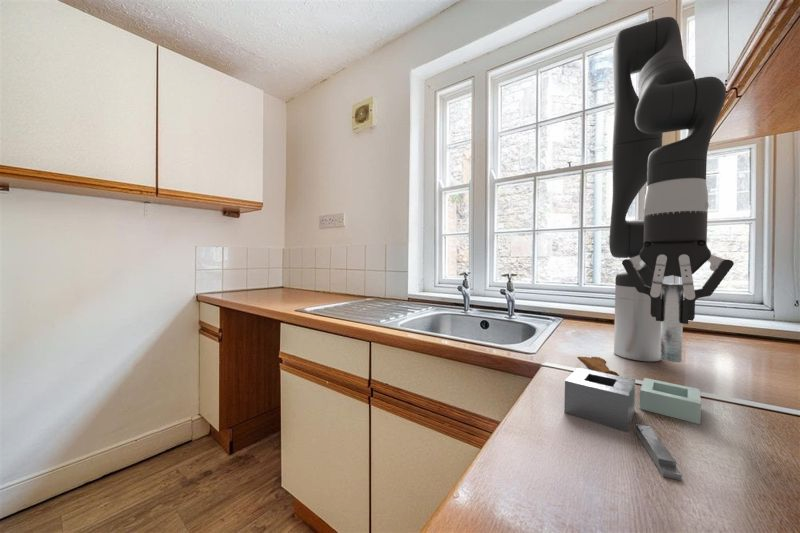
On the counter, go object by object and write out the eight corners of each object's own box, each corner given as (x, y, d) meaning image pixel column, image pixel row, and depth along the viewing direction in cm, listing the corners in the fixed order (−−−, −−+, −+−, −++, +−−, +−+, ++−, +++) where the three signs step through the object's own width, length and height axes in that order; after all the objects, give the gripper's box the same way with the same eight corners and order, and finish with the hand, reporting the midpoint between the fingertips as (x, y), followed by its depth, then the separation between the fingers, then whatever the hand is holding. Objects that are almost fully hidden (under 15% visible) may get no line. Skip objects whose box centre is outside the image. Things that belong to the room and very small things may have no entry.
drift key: (635, 432, 43) (636, 424, 43) (650, 435, 43) (650, 426, 43) (663, 476, 34) (663, 465, 34) (681, 480, 34) (681, 469, 34)
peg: (660, 355, 52) (662, 283, 52) (681, 359, 50) (683, 284, 50) (659, 359, 50) (661, 284, 50) (681, 363, 48) (683, 285, 48)
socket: (577, 395, 55) (578, 367, 55) (634, 411, 49) (635, 379, 49) (564, 412, 49) (564, 380, 49) (627, 431, 43) (628, 395, 43)
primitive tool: (576, 358, 77) (576, 344, 77) (602, 361, 75) (602, 346, 75) (600, 390, 58) (600, 371, 58) (635, 394, 57) (635, 375, 57)
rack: (643, 394, 55) (644, 377, 55) (698, 407, 51) (699, 389, 50) (639, 408, 50) (640, 390, 50) (700, 424, 45) (701, 403, 45)
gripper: (736, 211, 48) (732, 324, 48) (623, 218, 57) (621, 313, 57) (742, 204, 42) (738, 333, 42) (617, 213, 51) (614, 319, 52)
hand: (671, 321), depth 50 cm, fingers closed on peg, 2 cm apart
